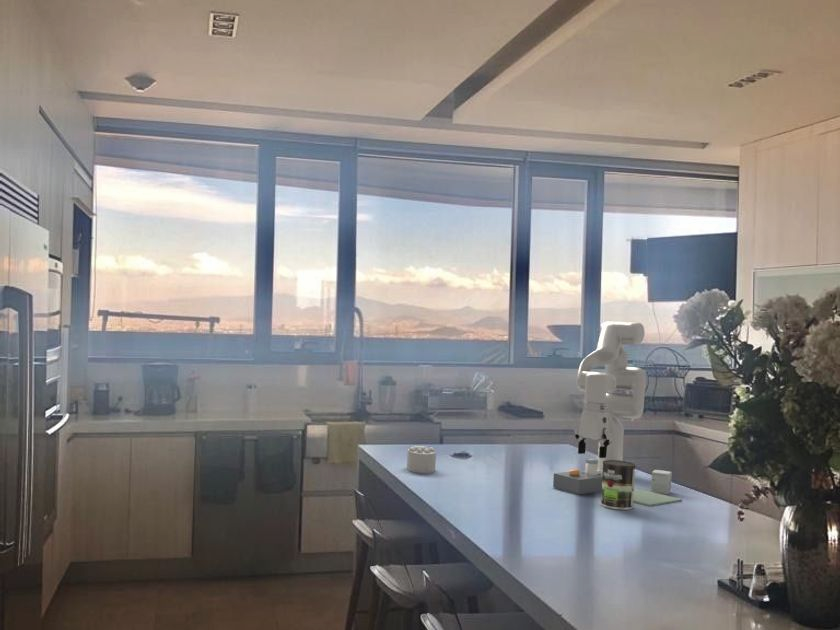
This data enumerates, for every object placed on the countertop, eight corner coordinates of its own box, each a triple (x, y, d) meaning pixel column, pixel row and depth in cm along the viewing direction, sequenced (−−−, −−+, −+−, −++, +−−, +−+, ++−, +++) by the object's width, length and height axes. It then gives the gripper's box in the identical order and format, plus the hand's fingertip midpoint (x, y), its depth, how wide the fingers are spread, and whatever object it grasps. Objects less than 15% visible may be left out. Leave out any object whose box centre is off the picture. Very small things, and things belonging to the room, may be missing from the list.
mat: (638, 490, 295) (638, 488, 295) (682, 501, 281) (682, 499, 281) (605, 495, 284) (605, 493, 284) (649, 506, 270) (649, 504, 270)
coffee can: (623, 511, 260) (625, 466, 260) (594, 505, 267) (596, 461, 267) (639, 507, 268) (641, 463, 268) (610, 501, 275) (613, 458, 275)
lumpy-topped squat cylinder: (431, 467, 321) (432, 444, 321) (438, 473, 308) (439, 450, 308) (405, 466, 319) (406, 444, 319) (410, 473, 306) (411, 449, 306)
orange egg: (573, 485, 293) (574, 468, 293) (581, 487, 290) (581, 470, 290) (566, 486, 291) (567, 469, 291) (574, 488, 288) (574, 471, 288)
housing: (587, 483, 303) (587, 469, 303) (613, 489, 294) (613, 475, 294) (553, 487, 293) (553, 473, 293) (578, 494, 283) (579, 479, 283)
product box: (650, 492, 293) (651, 471, 293) (653, 489, 299) (654, 469, 299) (668, 494, 290) (669, 473, 290) (671, 491, 296) (672, 471, 296)
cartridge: (590, 486, 299) (591, 458, 299) (599, 488, 295) (600, 460, 295) (581, 487, 296) (583, 459, 296) (591, 489, 293) (592, 461, 293)
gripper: (620, 410, 291) (618, 458, 291) (583, 405, 305) (580, 451, 304) (606, 410, 286) (604, 459, 286) (569, 405, 300) (566, 452, 300)
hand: (591, 455), depth 295 cm, fingers open, 9 cm apart
